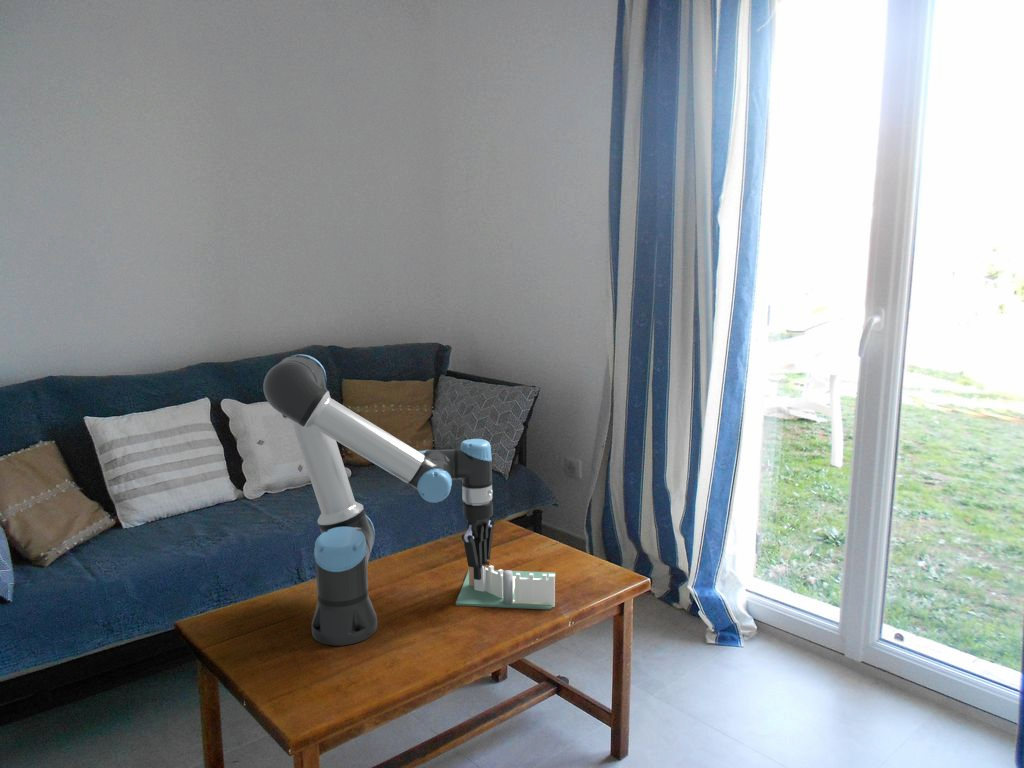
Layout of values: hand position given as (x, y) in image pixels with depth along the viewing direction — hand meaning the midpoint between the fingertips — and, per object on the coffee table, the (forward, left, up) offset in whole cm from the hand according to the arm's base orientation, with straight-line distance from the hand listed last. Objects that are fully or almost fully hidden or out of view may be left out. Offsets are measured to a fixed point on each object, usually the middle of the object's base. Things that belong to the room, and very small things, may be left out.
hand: (480, 589), depth 191 cm
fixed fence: (+13, -2, -2) cm, 13 cm away
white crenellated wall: (+1, +2, -1) cm, 3 cm away
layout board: (+6, +6, -2) cm, 9 cm away
